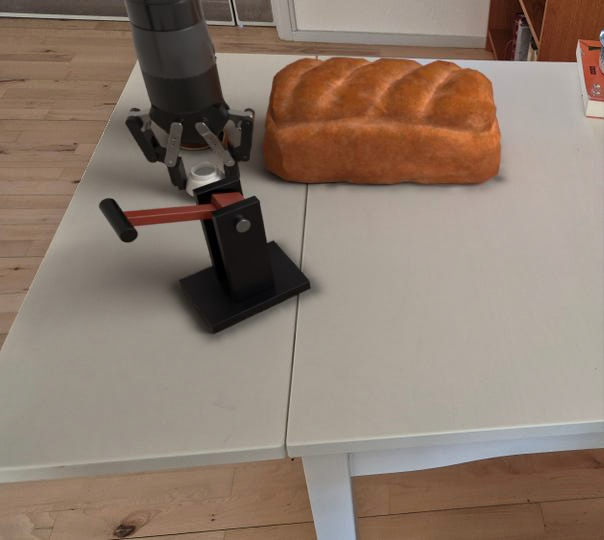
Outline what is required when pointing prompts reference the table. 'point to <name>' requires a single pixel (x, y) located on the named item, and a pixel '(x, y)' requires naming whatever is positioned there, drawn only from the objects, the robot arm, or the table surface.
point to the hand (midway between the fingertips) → (208, 185)
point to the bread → (381, 122)
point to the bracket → (239, 262)
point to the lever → (160, 214)
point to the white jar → (203, 176)
